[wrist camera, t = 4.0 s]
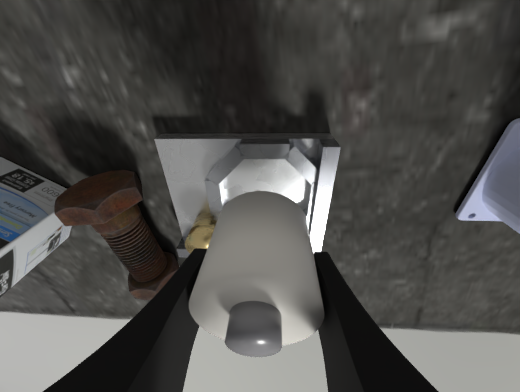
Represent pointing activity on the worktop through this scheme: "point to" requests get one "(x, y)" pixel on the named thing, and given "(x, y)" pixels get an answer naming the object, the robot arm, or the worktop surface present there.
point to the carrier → (246, 176)
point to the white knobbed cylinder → (259, 276)
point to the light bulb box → (26, 222)
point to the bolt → (119, 227)
